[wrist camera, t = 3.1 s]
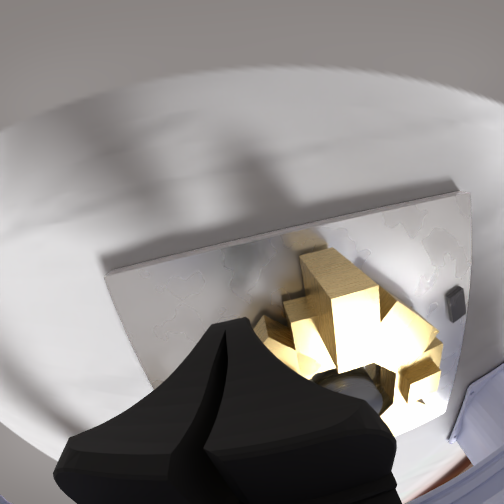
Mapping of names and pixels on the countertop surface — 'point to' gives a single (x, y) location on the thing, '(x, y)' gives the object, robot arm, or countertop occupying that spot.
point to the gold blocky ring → (357, 334)
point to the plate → (292, 287)
